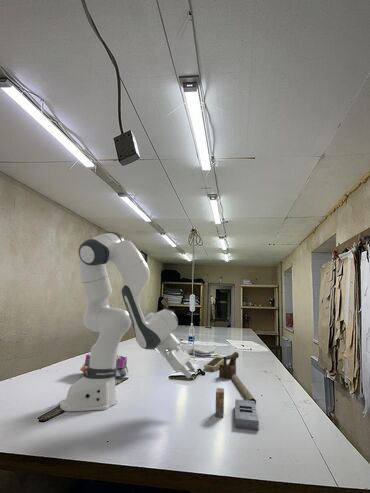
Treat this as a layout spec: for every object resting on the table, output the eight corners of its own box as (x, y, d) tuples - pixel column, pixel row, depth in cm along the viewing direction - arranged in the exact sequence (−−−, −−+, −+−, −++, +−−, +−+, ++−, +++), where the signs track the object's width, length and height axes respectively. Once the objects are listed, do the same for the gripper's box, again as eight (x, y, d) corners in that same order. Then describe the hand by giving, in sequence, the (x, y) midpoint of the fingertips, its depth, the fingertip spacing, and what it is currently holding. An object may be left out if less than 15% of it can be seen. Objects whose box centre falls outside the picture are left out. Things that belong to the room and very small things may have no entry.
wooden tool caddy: (242, 375, 184) (242, 352, 186) (230, 379, 171) (230, 355, 174) (230, 373, 188) (231, 351, 191) (218, 377, 176) (218, 353, 179)
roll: (237, 380, 172) (237, 375, 173) (257, 406, 130) (257, 398, 130) (231, 380, 172) (231, 374, 173) (248, 405, 130) (248, 398, 130)
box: (226, 364, 206) (225, 357, 206) (213, 376, 186) (213, 368, 187) (215, 363, 210) (214, 356, 210) (201, 375, 190) (201, 367, 190)
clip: (215, 417, 114) (215, 391, 116) (216, 411, 119) (216, 387, 121) (223, 417, 114) (223, 392, 115) (223, 412, 119) (224, 388, 121)
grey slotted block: (235, 427, 105) (235, 418, 105) (235, 406, 126) (235, 399, 127) (258, 430, 104) (258, 420, 104) (254, 408, 125) (254, 401, 125)
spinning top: (103, 382, 150) (108, 351, 154) (68, 374, 165) (73, 345, 169) (137, 378, 172) (141, 350, 176) (104, 371, 186) (107, 346, 190)
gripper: (169, 345, 114) (194, 374, 110) (179, 339, 134) (200, 363, 130) (157, 356, 114) (181, 386, 110) (169, 348, 134) (190, 373, 130)
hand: (192, 374), depth 121 cm, fingers open, 8 cm apart
